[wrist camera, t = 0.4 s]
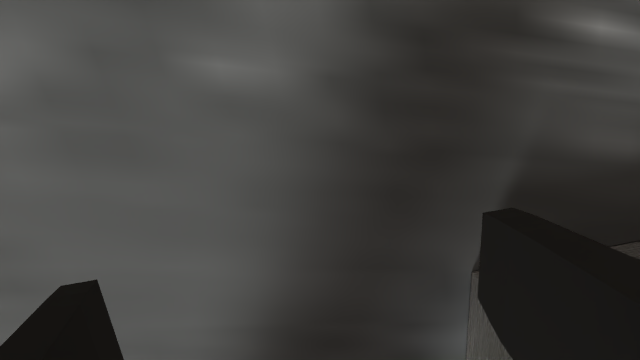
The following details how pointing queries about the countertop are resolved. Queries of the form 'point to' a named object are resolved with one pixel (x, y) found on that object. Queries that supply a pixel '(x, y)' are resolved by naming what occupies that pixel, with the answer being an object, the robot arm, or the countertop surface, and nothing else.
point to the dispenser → (482, 342)
